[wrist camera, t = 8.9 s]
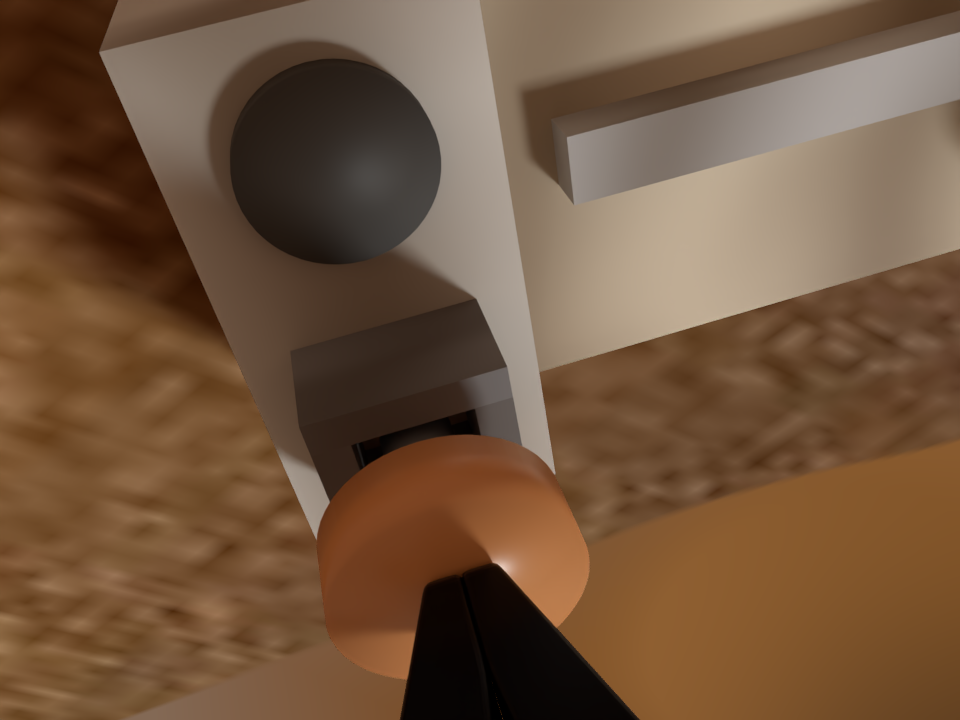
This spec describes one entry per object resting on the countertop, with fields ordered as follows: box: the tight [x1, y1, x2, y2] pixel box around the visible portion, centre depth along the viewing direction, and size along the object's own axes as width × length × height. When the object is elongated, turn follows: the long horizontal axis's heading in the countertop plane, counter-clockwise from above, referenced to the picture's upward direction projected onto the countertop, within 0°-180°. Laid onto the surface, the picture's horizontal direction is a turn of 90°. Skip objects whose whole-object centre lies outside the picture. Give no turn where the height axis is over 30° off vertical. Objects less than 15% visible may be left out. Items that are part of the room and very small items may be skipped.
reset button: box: [316, 417, 590, 679], centre depth 11 cm, size 3×3×3 cm
